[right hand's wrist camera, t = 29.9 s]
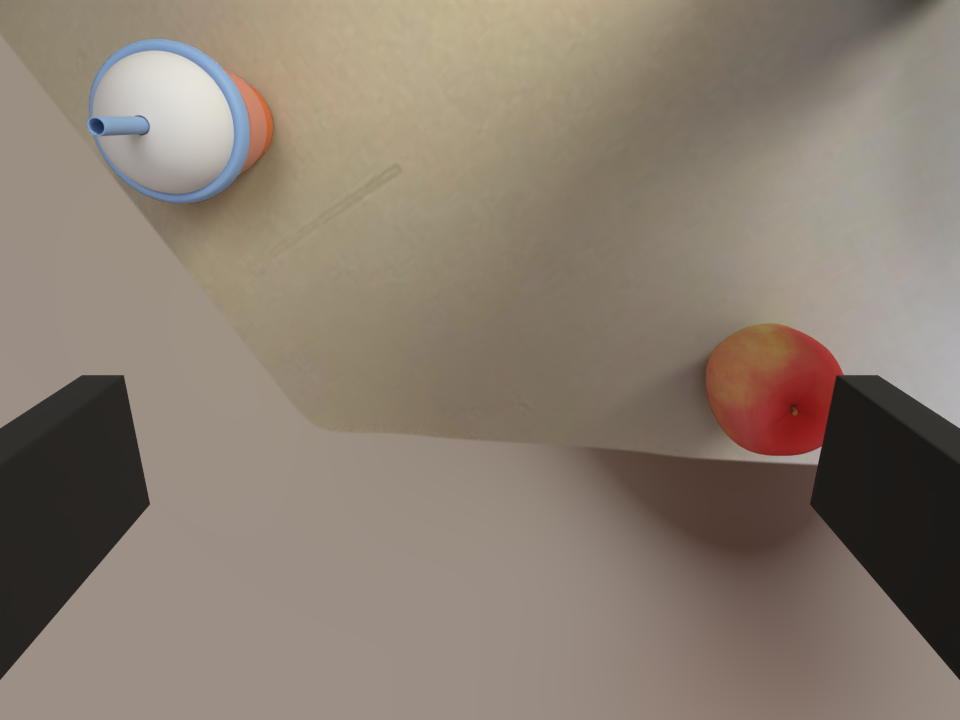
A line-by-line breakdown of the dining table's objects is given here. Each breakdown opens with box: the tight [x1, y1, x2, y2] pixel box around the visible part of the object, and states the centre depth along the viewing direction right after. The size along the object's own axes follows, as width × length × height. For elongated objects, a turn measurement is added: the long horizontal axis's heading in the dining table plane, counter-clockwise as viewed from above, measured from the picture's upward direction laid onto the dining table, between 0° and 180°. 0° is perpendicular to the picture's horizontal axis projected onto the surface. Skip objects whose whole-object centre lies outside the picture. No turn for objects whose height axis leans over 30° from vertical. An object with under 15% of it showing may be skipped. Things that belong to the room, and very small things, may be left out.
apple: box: [706, 324, 843, 456], centre depth 50 cm, size 10×10×10 cm
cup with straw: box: [87, 39, 273, 204], centre depth 39 cm, size 9×9×18 cm
